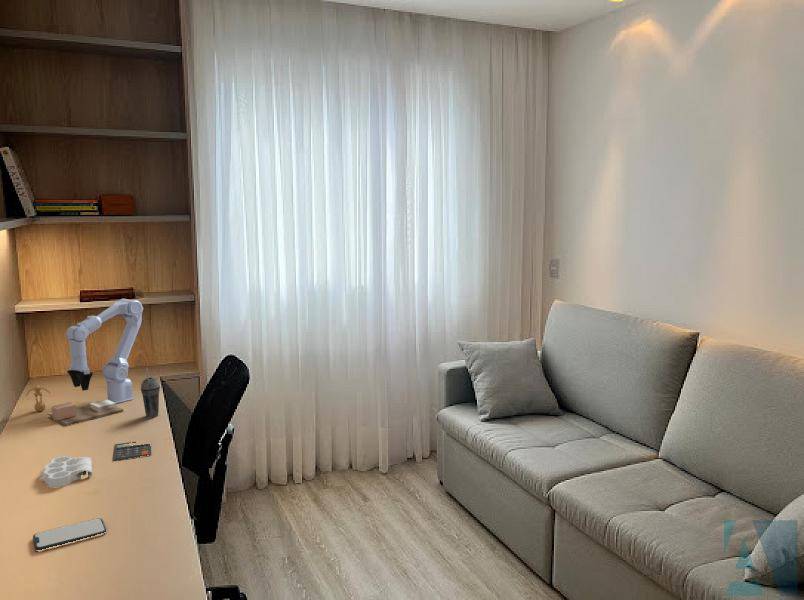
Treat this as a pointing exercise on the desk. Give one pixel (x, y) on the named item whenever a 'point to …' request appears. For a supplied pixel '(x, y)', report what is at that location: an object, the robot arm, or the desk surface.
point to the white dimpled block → (65, 470)
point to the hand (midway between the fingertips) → (81, 388)
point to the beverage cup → (150, 396)
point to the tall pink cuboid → (63, 411)
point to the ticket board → (92, 412)
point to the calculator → (130, 451)
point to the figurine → (40, 405)
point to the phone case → (68, 533)
